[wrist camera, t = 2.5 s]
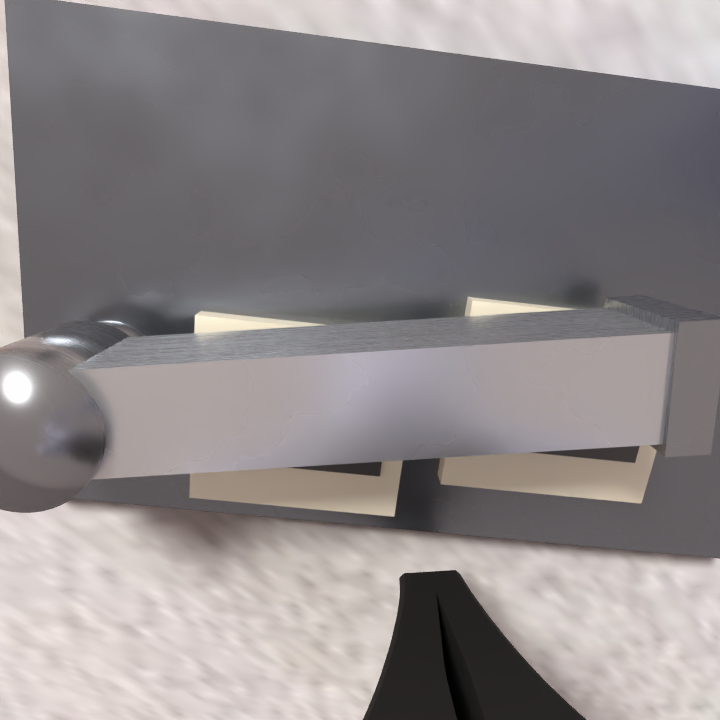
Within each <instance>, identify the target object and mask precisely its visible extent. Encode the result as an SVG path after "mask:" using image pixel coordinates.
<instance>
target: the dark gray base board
mask: <svg viewBox="0 0 720 720" xmlns="http://www.w3.org/2000/svg"><path fill="white" fill-rule="evenodd" d="M5 15H6V32H7V49H8V66H9V83H10V100H11V117H12V134H13V150H14V167H15V184H16V201H17V218H18V235H19V252H20V269H21V286H22V303H23V320H24V337H25V338H27V337H30V336H32V335H35V334H38V333H40V332H43V331H45V330H48V329H51V328H53V327H56V326H58V325H61V324H64V323H68V322H72V321H95V322H100V323H104V324H107V325H110V326H113V327H115V328H117V329H119V330H121V331H123V332H124V333H125V334H127V335H128V336H130V337H142V336H158V335H174V334H190V333H194V327H195V315H196V314H197V313H199V312H200V311H206V312H215V313H224V314H233V315H242V316H252V317H261V318H270V319H279V320H288V321H297V322H307V323H316V324H325V325H334V324H350V323H366V322H382V321H398V320H414V319H430V318H446V317H462V316H465V310H466V304H467V298H468V297H474V298H482V299H491V300H500V301H509V302H518V303H527V304H536V305H545V306H553V307H562V308H571V309H590V308H604V301H605V297H616V296H632V295H645V296H649V297H652V298H656V299H659V300H663V301H667V302H670V303H674V304H677V305H681V306H684V307H688V308H692V309H695V310H699V311H702V312H706V313H709V314H713V315H716V316H720V89H716V88H708V87H701V86H693V85H686V84H678V83H671V82H663V81H656V80H648V79H641V78H634V77H626V76H619V75H611V74H604V73H596V72H589V71H581V70H574V69H566V68H559V67H551V66H544V65H536V64H529V63H521V62H514V61H506V60H499V59H491V58H484V57H476V56H469V55H461V54H454V53H446V52H439V51H431V50H424V49H417V48H409V47H402V46H394V45H387V44H379V43H372V42H364V41H357V40H349V39H342V38H334V37H327V36H319V35H312V34H304V33H297V32H289V31H282V30H274V29H267V28H259V27H252V26H244V25H237V24H229V23H222V22H214V21H207V20H199V19H192V18H185V17H177V16H170V15H162V14H155V13H147V12H140V11H132V10H125V9H117V8H110V7H102V6H95V5H87V4H80V3H72V2H65V1H57V0H5ZM439 462H440V458H433V459H416V460H403V462H402V469H401V475H400V482H399V489H398V495H397V502H396V509H395V515H394V517H392V516H381V515H370V514H360V513H349V512H338V511H328V510H317V509H306V508H295V507H285V506H274V505H263V504H252V503H242V502H231V501H220V500H210V499H199V498H189V493H190V474H173V475H157V476H141V477H125V478H109V479H92V480H91V481H90V482H89V483H88V484H87V485H86V486H85V487H84V488H83V489H82V490H81V491H80V492H79V493H78V494H77V495H76V496H74V497H73V498H72V499H81V500H92V501H102V502H113V503H124V504H135V505H146V506H157V507H167V508H178V509H189V510H200V511H211V512H222V513H232V514H243V515H254V516H265V517H276V518H287V519H297V520H308V521H319V522H330V523H341V524H352V525H363V526H373V527H384V528H395V529H406V530H417V531H428V532H438V533H449V534H460V535H471V536H482V537H493V538H503V539H514V540H525V541H536V542H547V543H558V544H568V545H579V546H590V547H601V548H612V549H623V550H634V551H644V552H655V553H666V554H677V555H688V556H699V557H709V558H720V390H719V398H718V405H717V413H716V420H715V428H714V435H713V443H712V450H711V454H710V455H694V456H677V457H664V456H663V455H661V454H660V453H659V452H658V451H656V455H655V458H654V462H653V465H652V469H651V472H650V476H649V479H648V482H647V486H646V489H645V493H644V496H643V500H642V503H641V504H640V503H630V502H620V501H609V500H599V499H589V498H578V497H568V496H557V495H547V494H537V493H526V492H516V491H506V490H495V489H485V488H474V487H464V486H454V485H443V484H440V480H439V477H438V468H439Z"/></svg>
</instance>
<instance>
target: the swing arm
mask: <svg viewBox="0 0 720 720" xmlns="http://www.w3.org/2000/svg"><path fill="white" fill-rule="evenodd" d="M719 390H720V316H716V315H713V314H709V313H706V312H702V311H699V310H695V309H692V308H688V307H684V306H681V305H677V304H674V303H670V302H667V301H663V300H659V299H656V298H652V297H649V296H645V295H632V296H616V297H605V301H604V308H590V309H574V310H558V311H542V312H526V313H510V314H494V315H478V316H462V317H446V318H430V319H414V320H398V321H382V322H366V323H350V324H334V325H318V326H302V327H286V328H270V329H254V330H238V331H222V332H206V333H190V334H174V335H158V336H142V337H130V336H128V335H127V334H125V333H124V332H123V331H121V330H119V329H117V328H115V327H113V326H110V325H107V324H104V323H100V322H95V321H72V322H68V323H64V324H61V325H58V326H56V327H53V328H51V329H48V330H45V331H43V332H40V333H38V334H35V335H32V336H30V337H27V338H24V339H22V340H19V341H17V342H14V343H11V344H9V345H6V346H4V347H1V348H0V509H1V510H6V511H11V512H20V513H31V512H39V511H45V510H49V509H52V508H55V507H57V506H60V505H62V504H64V503H66V502H67V501H69V500H71V499H72V498H73V497H74V496H76V495H77V494H78V493H79V492H80V491H81V490H82V489H83V488H84V487H85V486H86V485H87V484H88V483H89V482H90V481H91V480H92V479H109V478H125V477H141V476H157V475H173V474H190V473H206V472H222V471H238V470H254V469H271V468H287V467H303V466H319V465H335V464H352V463H368V462H384V461H400V460H416V459H433V458H449V457H465V456H481V455H497V454H514V453H530V452H546V451H562V450H578V449H594V448H611V447H627V446H643V445H650V446H651V447H653V448H654V449H655V450H656V451H658V452H659V453H660V454H661V455H663V456H664V457H677V456H694V455H710V454H711V450H712V443H713V435H714V428H715V420H716V413H717V405H718V398H719Z"/></svg>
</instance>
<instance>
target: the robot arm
mask: <svg viewBox="0 0 720 720" xmlns="http://www.w3.org/2000/svg"><path fill="white" fill-rule="evenodd" d="M399 579H400V599H399V607H398V613H397V618H396V623H395V627H394V631H393V636H392V640H391V644H390V647H389V651H388V654H387V657H386V660H385V663H384V667H383V670H382V673H381V676H380V679H379V682H378V684H377V687H376V690H375V692H374V695H373V697H372V700H371V702H370V705H369V707H368V710H367V712H366V714H365V716H364V718H363V720H586V719H585V718H584V717H583V716H582V715H580V714H579V713H578V712H577V711H576V710H575V709H574V708H573V707H572V706H570V705H569V704H568V703H567V702H566V701H565V700H564V699H563V698H562V697H561V696H560V695H559V694H558V693H557V692H556V691H555V690H554V689H553V688H551V687H550V686H549V685H548V684H547V683H546V682H545V680H544V679H543V678H542V677H541V676H540V675H539V674H538V673H537V672H536V671H535V670H534V669H533V668H532V667H531V666H530V665H529V664H528V662H527V661H526V660H525V659H524V658H523V657H522V656H521V655H520V654H519V652H518V651H517V650H516V649H515V648H514V647H513V646H512V644H511V643H510V642H509V641H508V640H507V638H506V637H505V636H504V635H503V633H502V632H501V631H500V630H499V628H498V627H497V626H496V625H495V623H494V622H493V621H492V620H491V618H490V617H489V616H488V614H487V613H486V612H485V610H484V609H483V608H482V606H481V605H480V604H479V602H478V601H477V599H476V598H475V596H474V595H473V594H472V592H471V591H470V589H469V588H468V586H467V584H466V583H465V581H464V580H463V578H462V576H461V575H460V574H459V573H458V572H457V571H456V570H451V571H435V572H419V573H404V574H403V575H402V576H401V577H400V578H399Z"/></svg>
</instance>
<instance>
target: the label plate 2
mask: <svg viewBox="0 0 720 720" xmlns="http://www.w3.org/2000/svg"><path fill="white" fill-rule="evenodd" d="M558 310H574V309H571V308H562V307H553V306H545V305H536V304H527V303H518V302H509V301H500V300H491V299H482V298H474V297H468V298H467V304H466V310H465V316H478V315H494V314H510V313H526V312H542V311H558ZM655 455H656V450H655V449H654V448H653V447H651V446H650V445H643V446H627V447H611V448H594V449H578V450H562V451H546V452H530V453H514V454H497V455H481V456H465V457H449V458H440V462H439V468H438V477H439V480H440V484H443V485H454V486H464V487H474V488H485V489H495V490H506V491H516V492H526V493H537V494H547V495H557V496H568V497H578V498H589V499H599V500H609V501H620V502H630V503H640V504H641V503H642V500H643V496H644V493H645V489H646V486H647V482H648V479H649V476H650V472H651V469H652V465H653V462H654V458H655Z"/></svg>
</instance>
